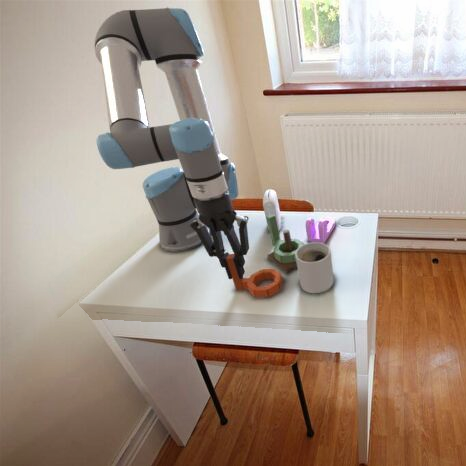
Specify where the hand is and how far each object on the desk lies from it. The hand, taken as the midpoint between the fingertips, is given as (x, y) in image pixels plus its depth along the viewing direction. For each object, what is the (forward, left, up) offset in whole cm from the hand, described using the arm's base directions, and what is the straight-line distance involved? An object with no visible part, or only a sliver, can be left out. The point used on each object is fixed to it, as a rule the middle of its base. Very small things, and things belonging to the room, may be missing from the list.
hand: (236, 275), depth 84 cm
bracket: (-4, +33, -4) cm, 33 cm away
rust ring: (+4, +4, -4) cm, 7 cm away
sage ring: (-2, +17, -3) cm, 17 cm away
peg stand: (0, +17, -4) cm, 17 cm away
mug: (+13, +16, -4) cm, 21 cm away
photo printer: (-20, +25, -4) cm, 32 cm away
